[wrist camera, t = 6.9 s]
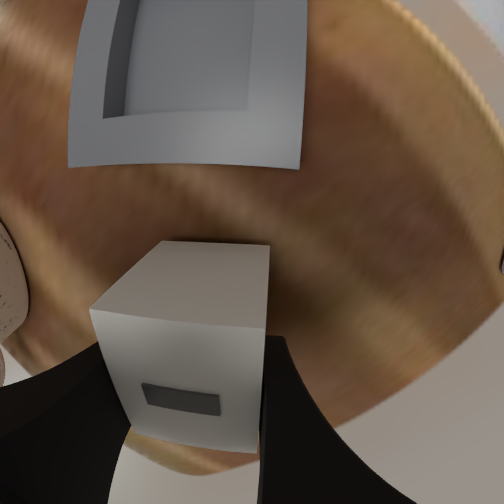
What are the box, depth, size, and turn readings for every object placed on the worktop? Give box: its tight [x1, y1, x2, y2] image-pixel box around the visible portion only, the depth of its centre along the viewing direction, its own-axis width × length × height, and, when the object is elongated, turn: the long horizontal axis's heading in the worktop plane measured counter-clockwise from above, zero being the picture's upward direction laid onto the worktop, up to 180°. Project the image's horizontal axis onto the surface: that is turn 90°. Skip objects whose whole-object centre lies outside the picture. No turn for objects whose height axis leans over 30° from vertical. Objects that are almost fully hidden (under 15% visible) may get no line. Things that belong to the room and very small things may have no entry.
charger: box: [89, 241, 270, 453], centre depth 9 cm, size 4×5×5 cm
